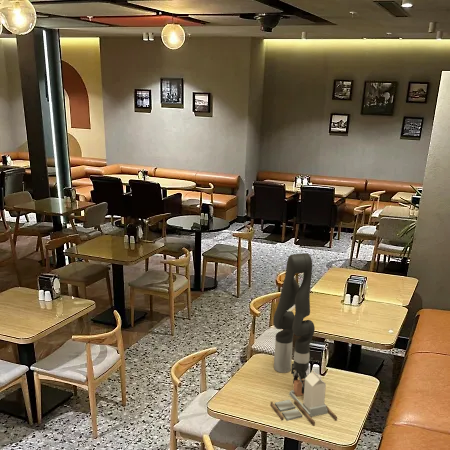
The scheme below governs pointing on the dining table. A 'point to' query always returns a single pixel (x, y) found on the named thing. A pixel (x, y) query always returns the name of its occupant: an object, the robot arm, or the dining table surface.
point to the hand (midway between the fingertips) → (299, 388)
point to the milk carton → (314, 391)
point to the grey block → (312, 411)
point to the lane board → (294, 411)
